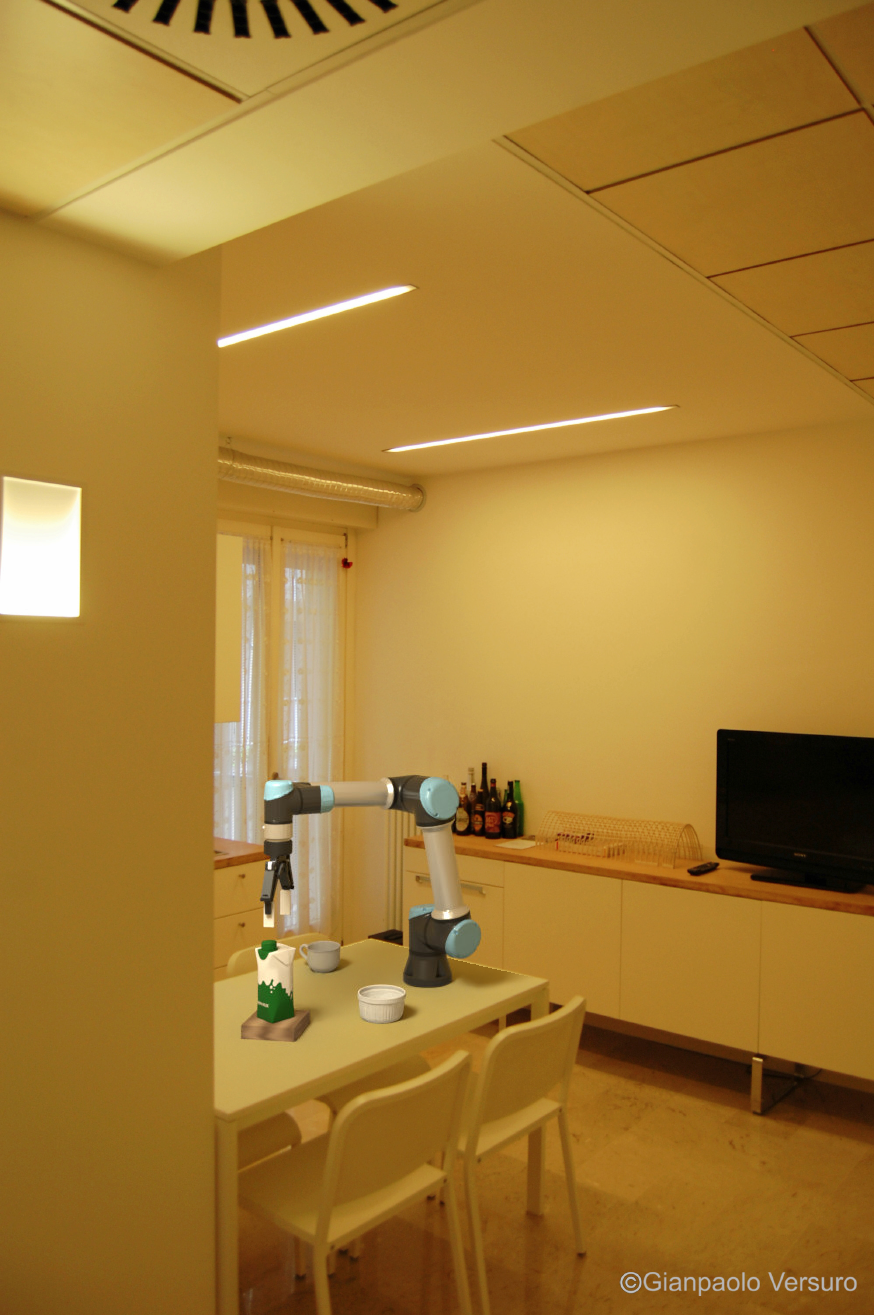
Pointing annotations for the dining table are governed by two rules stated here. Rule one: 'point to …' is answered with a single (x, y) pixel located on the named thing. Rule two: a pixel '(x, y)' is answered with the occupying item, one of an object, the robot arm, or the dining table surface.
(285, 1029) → the plinth
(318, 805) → the robot arm
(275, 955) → the soya milk
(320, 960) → the teacup
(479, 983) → the dining table surface
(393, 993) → the ramekin
